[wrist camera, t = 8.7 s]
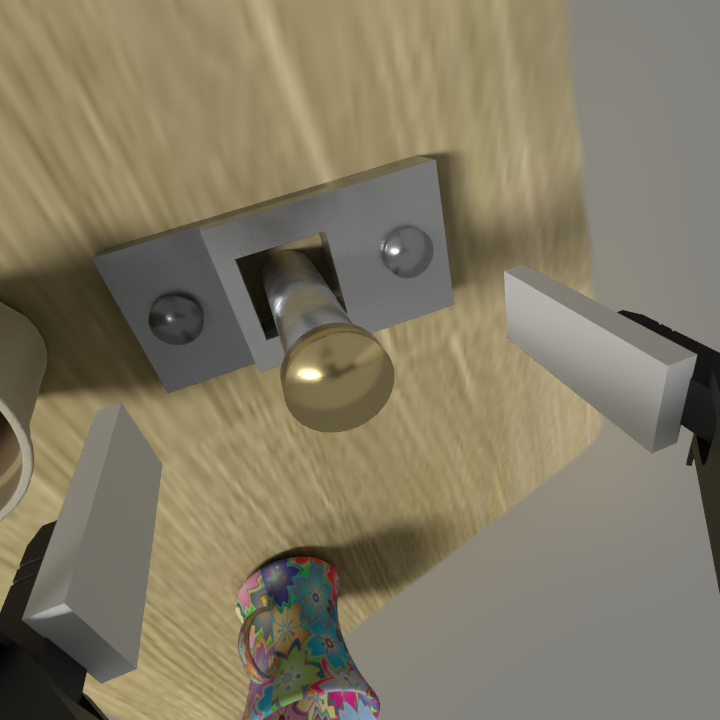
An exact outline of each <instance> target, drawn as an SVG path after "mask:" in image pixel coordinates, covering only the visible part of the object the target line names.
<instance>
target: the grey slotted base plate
mask: <svg viewBox="0 0 720 720" xmlns="http://www.w3.org/2000/svg"><path fill="white" fill-rule="evenodd" d="M317 233H319V234H320V238H321V241H322V245H323V248H324V252H325V256H326V259H327V263H328V266H329V270H330V273H331V277H332V281H333V284H334V288H335V291H336V295H337V298H336V299H337V301H338V302H339V304H340V305H341V307H342V308H343V310H344V311H345V313H346V314H347V316H348V317H349V319H350V320H351V322H352V323H353V324H354V325H357V326H360V327H362V328H364V329H366V330H367V331H369V332H370V333H374V332H376V331H379V330H382V329H385V328H388V327H391V326H394V325H396V324H399V323H402V322H405V321H408V320H411V319H414V318H417V317H419V316H422V315H425V314H428V313H431V312H434V311H437V310H439V309H442V308H445V307H448V306H451V305H454V299H453V291H452V283H451V275H450V268H449V260H448V252H447V244H446V236H445V228H444V221H443V213H442V205H441V197H440V189H439V182H438V174H437V166H436V160H435V159H430V158H426V157H421V156H414V157H411V158H407V159H404V160H401V161H397V162H394V163H391V164H387V165H384V166H381V167H377V168H374V169H371V170H368V171H364V172H361V173H358V174H354V175H351V176H348V177H344V178H341V179H338V180H334V181H331V182H328V183H324V184H321V185H318V186H314V187H311V188H308V189H304V190H301V191H298V192H294V193H291V194H288V195H284V196H281V197H278V198H274V199H271V200H268V201H264V202H261V203H258V204H255V205H251V206H248V207H245V208H241V209H238V210H235V211H231V212H228V213H225V214H221V215H218V216H215V217H211V218H208V219H205V220H201V221H198V222H195V223H191V224H188V225H185V226H181V227H178V228H175V229H171V230H168V231H165V232H161V233H158V234H155V235H151V236H148V237H145V238H141V239H138V240H135V241H132V242H128V243H125V244H122V245H118V246H115V247H112V248H108V249H105V250H102V251H98V252H96V253H95V255H94V256H93V257H92V258H91V259H92V261H93V263H94V264H95V266H96V268H97V270H98V271H99V273H100V275H101V277H102V278H103V280H104V282H105V284H106V285H107V287H108V289H109V291H110V293H111V294H112V296H113V298H114V300H115V301H116V303H117V305H118V307H119V308H120V310H121V312H122V314H123V315H124V317H125V319H126V321H127V322H128V324H129V326H130V328H131V329H132V331H133V333H134V335H135V336H136V338H137V340H138V342H139V343H140V345H141V347H142V349H143V350H144V352H145V354H146V356H147V357H148V359H149V361H150V363H151V364H152V366H153V368H154V370H155V371H156V373H157V375H158V377H159V378H160V380H161V382H162V384H163V385H164V387H165V389H166V391H167V392H168V393H170V392H173V391H176V390H179V389H181V388H184V387H187V386H190V385H193V384H196V383H199V382H202V381H205V380H207V379H210V378H213V377H216V376H219V375H222V374H225V373H228V372H231V371H233V370H236V369H239V368H242V367H245V366H248V365H251V364H254V363H256V366H257V368H258V370H259V372H262V371H265V370H268V369H270V368H273V367H276V366H279V365H282V362H283V359H284V357H285V355H284V351H283V348H282V345H281V341H280V338H279V335H278V331H277V328H276V325H275V321H274V319H272V320H269V321H266V322H263V323H262V320H261V318H260V315H259V313H258V310H257V308H256V305H255V302H254V300H253V297H252V295H251V292H250V290H249V287H248V284H247V282H246V279H245V277H244V274H243V272H242V269H241V266H240V264H239V261H238V258H241V257H244V256H247V255H250V254H254V253H257V252H260V251H263V250H266V249H270V248H273V247H276V246H279V245H282V244H285V243H289V242H292V241H295V240H298V239H301V238H304V237H308V236H311V235H314V234H317Z"/></svg>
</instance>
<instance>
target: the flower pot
mask: <svg viewBox="0 0 720 720" xmlns="http://www.w3.org/2000/svg"><path fill="white" fill-rule="evenodd" d="M46 367H47V350H46V346H45V343H44V340H43V338H42V336H41V334H40V333H39V331H38V329H37V328H36V327H35V326H34V324H33V323H32V322H31V321H30V320H29V319H28V318H27V317H26V316H24V315H23V314H21V313H19V312H17V311H15V310H14V309H12V308H10V307H8V306H7V305H5V304H3V303H2V302H0V522H1V521H2V520H3V519H4V518H5V517H6V516H7V515H8V514H10V513H11V512H12V510H13V509H14V508H15V507H16V506H17V505H18V504H19V502H20V501H21V500H22V498H23V497H24V495H25V493H26V491H27V489H28V487H29V484H30V481H31V477H32V473H33V468H34V450H33V445H32V441H31V437H30V427H29V424H30V421H31V417H32V414H33V411H34V407H35V403H36V400H37V397H38V393H39V390H40V386H41V383H42V380H43V377H44V374H45V371H46Z"/></svg>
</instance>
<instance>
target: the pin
mask: <svg viewBox="0 0 720 720" xmlns="http://www.w3.org/2000/svg"><path fill="white" fill-rule="evenodd" d="M262 280H263V284H264V288H265V291H266V294H267V298H268V301H269V305H270V308H271V311H272V315H273V318H274V321H275V325H276V328H277V331H278V335H279V338H280V341H281V345H282V348H283V351H284V355H285V357H284V359H283V362H282V366H281V372H280V379H281V385H282V389H283V393H284V397H285V401H286V404H287V407H288V409H289V411H290V412H291V414H292V415H293V416H294V417H295V418H296V420H297V421H299V422H300V423H301V424H303V425H305V426H306V427H308V428H311V429H313V430H317V431H321V432H342V431H347V430H350V429H353V428H356V427H358V426H360V425H362V424H364V423H366V422H367V421H369V420H370V419H371V418H373V417H374V416H375V415H376V414H377V413H378V412H379V411H380V410H381V409H382V408H383V406H384V405H385V404H386V402H387V400H388V399H389V397H390V394H391V392H392V389H393V384H394V368H393V365H392V361H391V359H390V357H389V356H388V354H387V353H386V351H385V350H384V349H383V347H382V346H381V344H380V343H379V342H378V340H377V339H376V338H375V337H374V336H373V335H372V334H371V333H370V332H369V331H367V330H366V329H364V328H362V327H360V326H357V325H354V324H353V323H352V322H351V320H350V319H349V317H348V316H347V314H346V313H345V311H344V310H343V308H342V307H341V305H340V304H339V302H338V301H337V299H336V298H335V296H334V295H333V293H332V292H331V290H330V289H329V287H328V286H327V284H326V283H325V281H324V280H323V278H322V277H321V275H320V274H319V272H318V271H317V269H316V268H315V266H314V265H313V263H312V262H311V260H310V259H309V258H308V257H307V256H306V255H304V254H303V253H301V252H298V251H295V250H284V251H280V252H278V253H276V254H274V255H273V256H271V257H270V258H269V259H268V261H267V262H266V264H265V266H264V268H263V272H262Z"/></svg>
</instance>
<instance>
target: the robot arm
mask: <svg viewBox="0 0 720 720" xmlns="http://www.w3.org/2000/svg"><path fill="white" fill-rule="evenodd" d="M504 281H505V303H506V324H507V338H508V339H509V340H510V341H511V342H513V343H514V344H515V345H516V346H518V347H519V348H520V349H521V350H523V351H524V352H525V353H526V354H528V355H529V356H530V357H531V358H533V359H534V360H535V361H536V362H538V363H539V364H540V365H541V366H543V367H544V368H545V369H546V370H548V371H549V372H550V373H551V374H553V375H554V376H555V377H556V378H558V379H559V380H560V381H561V382H563V383H564V384H565V385H566V386H568V387H569V388H570V389H571V390H573V391H574V392H575V393H576V394H578V395H579V396H580V397H581V398H583V399H584V400H585V401H586V402H588V403H589V404H590V405H591V406H593V407H594V408H595V409H596V410H598V411H599V412H600V413H601V414H603V415H604V416H605V417H607V418H608V419H609V420H610V421H612V422H613V423H614V424H615V425H617V426H618V427H619V428H620V429H622V430H623V431H624V432H625V433H627V434H628V435H629V436H630V437H632V438H633V439H634V440H635V441H637V442H638V443H639V444H640V445H642V446H643V447H644V448H645V449H647V450H648V451H649V452H650V453H653V452H656V451H658V450H661V449H663V448H665V447H668V446H670V445H673V444H675V443H677V440H678V436H679V432H680V427H681V425H683V426H684V427H686V428H687V429H689V430H690V431H692V432H693V433H694V434H693V438H692V442H691V446H690V450H689V454H688V458H687V463H686V465H689V466H692V462H693V459H694V460H695V465H696V470H697V475H698V481H699V486H700V491H701V497H702V502H703V507H704V513H705V518H706V523H707V528H708V534H709V539H710V544H711V550H712V555H713V560H714V566H715V571H716V576H717V581H718V587H719V592H720V353H719V352H717V351H715V350H713V349H711V348H709V347H707V346H705V345H703V344H701V343H699V342H697V341H695V340H693V339H690V338H688V337H687V336H684V335H683V334H680V333H678V332H676V331H672V329H670V328H668V327H666V326H664V325H662V324H661V325H659V323H658V322H656V321H654V320H652V319H650V318H648V317H646V316H644V315H642V314H637V313H633V312H628V311H624V310H622V311H619V312H614V311H613V310H611V309H609V308H607V307H605V306H603V305H601V304H599V303H598V302H596V301H594V300H592V299H590V298H588V297H586V296H584V295H582V294H580V293H578V292H576V291H574V290H573V289H571V288H569V287H567V286H565V285H563V284H561V283H559V282H557V281H555V280H553V279H551V278H550V277H548V276H546V275H544V274H542V273H540V272H538V271H536V270H534V269H532V268H530V267H528V266H527V265H525V264H523V265H520V266H517V267H514V268H511V269H508V270H505V271H504ZM161 470H162V463H161V461H160V460H159V458H158V457H157V455H156V454H155V452H154V451H153V449H152V448H151V446H150V445H149V443H148V442H147V440H146V439H145V437H144V436H143V434H142V433H141V431H140V430H139V428H138V427H137V425H136V424H135V422H134V421H133V419H132V418H131V416H130V415H129V413H128V412H127V410H126V409H125V407H124V406H123V404H122V403H119V404H116V405H113V406H110V407H107V408H104V409H101V410H98V411H96V413H95V416H94V419H93V422H92V425H91V427H90V430H89V433H88V436H87V439H86V441H85V444H84V447H83V450H82V453H81V455H80V458H79V461H78V464H77V467H76V469H75V472H74V475H73V478H72V481H71V483H70V486H69V489H68V492H67V494H66V497H65V500H64V503H63V506H62V508H61V511H60V514H59V517H58V520H57V521H54V522H51V523H49V524H46V525H43V526H42V527H41V529H40V530H39V531H38V532H37V534H36V535H35V536H34V538H33V539H32V540H31V542H30V543H29V544H28V546H27V548H26V550H25V553H24V555H23V558H22V560H21V563H20V565H19V566H20V569H18V570H17V573H16V575H15V578H14V580H13V583H14V585H12V586H11V587H10V590H9V592H8V595H7V597H6V600H5V602H4V605H3V607H2V610H1V612H0V720H109V719H108V718H107V717H106V716H105V715H104V713H103V712H102V711H101V710H100V709H99V708H98V706H97V705H96V704H95V703H94V702H93V701H92V699H91V698H90V697H88V696H87V695H86V694H84V693H83V687H84V682H85V677H86V673H87V672H88V673H89V674H90V675H91V676H93V677H94V678H95V679H96V680H98V681H99V682H100V683H104V682H106V681H109V680H111V679H113V678H116V677H118V676H121V675H123V674H125V673H128V672H130V671H132V670H135V669H137V662H138V654H139V646H140V638H141V630H142V622H143V614H144V606H145V598H146V590H147V582H148V574H149V566H150V558H151V550H152V542H153V534H154V526H155V518H156V510H157V502H158V494H159V486H160V478H161Z"/></svg>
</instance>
